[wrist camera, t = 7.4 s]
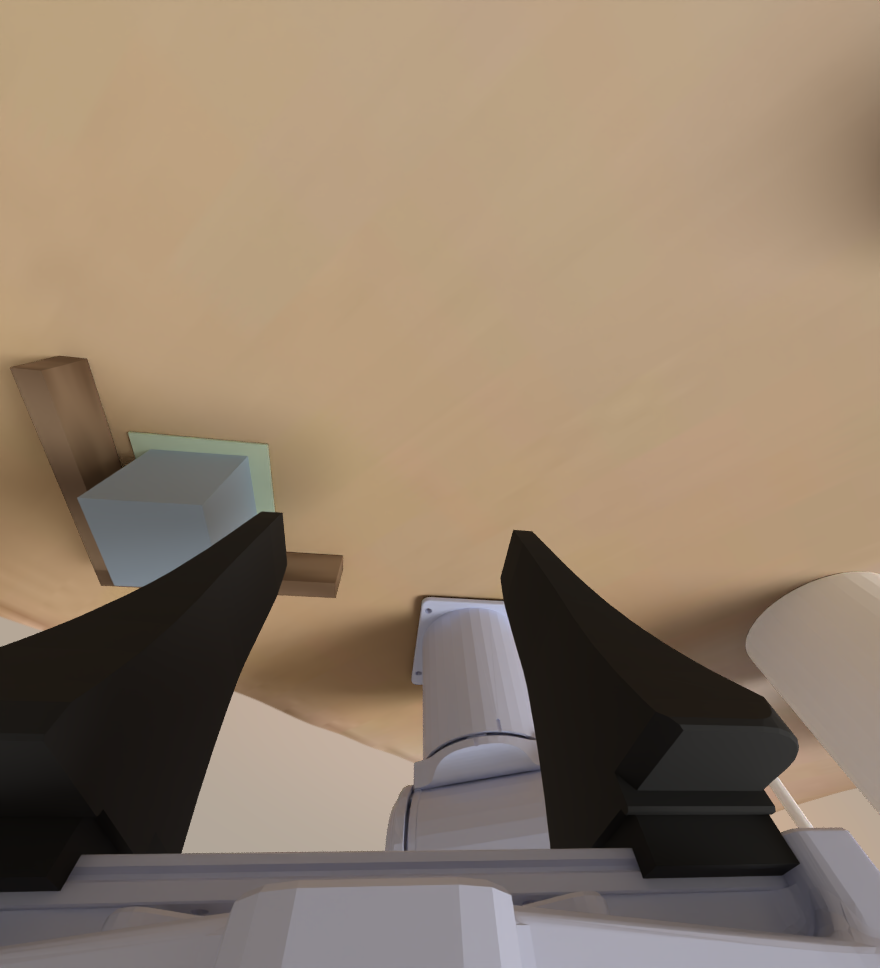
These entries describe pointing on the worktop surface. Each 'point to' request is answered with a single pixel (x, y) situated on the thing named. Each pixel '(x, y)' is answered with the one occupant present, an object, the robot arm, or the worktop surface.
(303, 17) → the worktop surface
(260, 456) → the pad
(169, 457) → the cube
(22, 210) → the worktop surface
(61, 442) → the wooden l-bracket
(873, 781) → the bottle
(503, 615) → the robot arm
